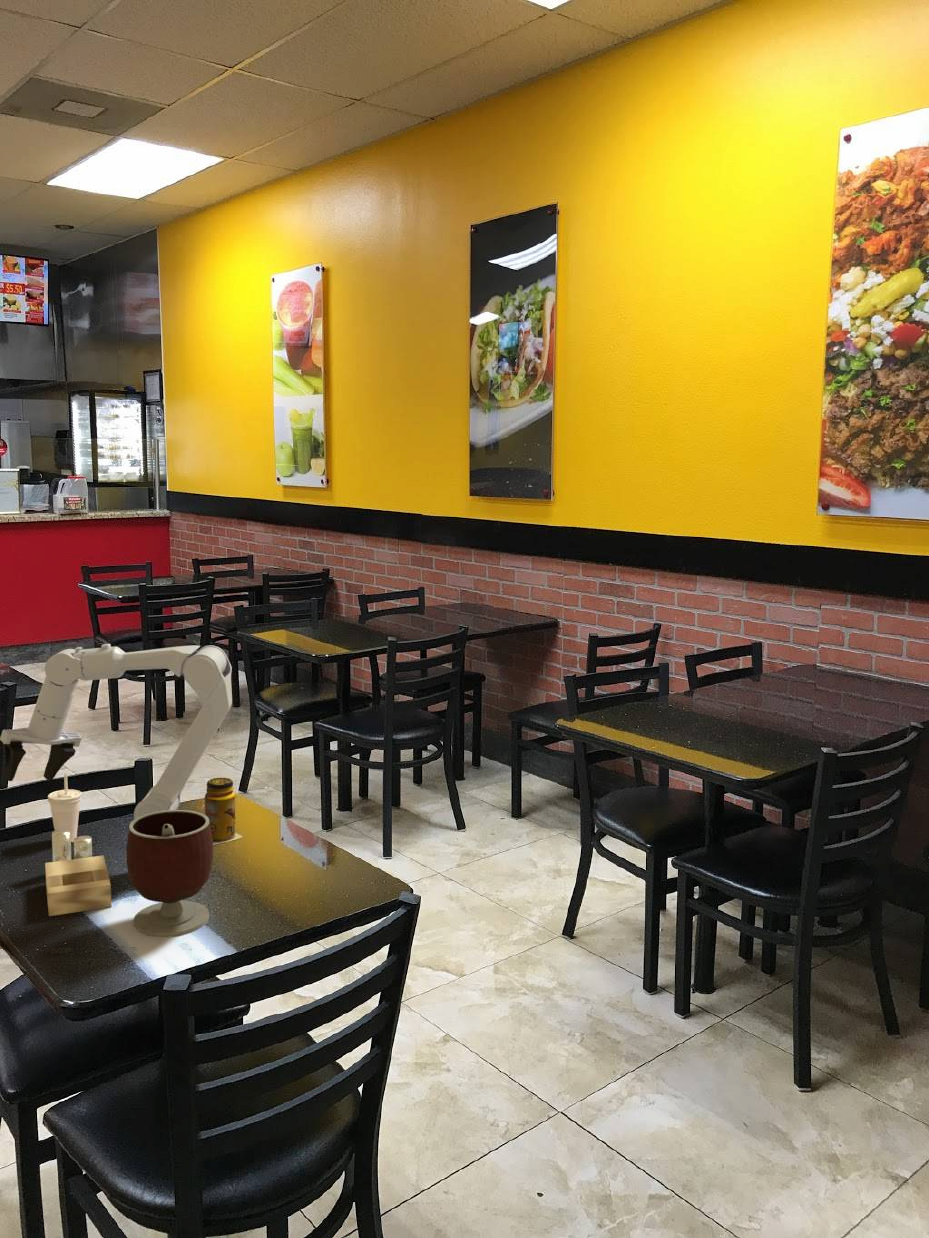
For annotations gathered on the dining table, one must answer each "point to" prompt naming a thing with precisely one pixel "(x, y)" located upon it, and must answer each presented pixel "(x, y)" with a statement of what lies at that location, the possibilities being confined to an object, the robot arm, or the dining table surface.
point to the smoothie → (65, 809)
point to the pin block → (77, 885)
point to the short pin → (82, 847)
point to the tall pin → (61, 845)
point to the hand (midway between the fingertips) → (28, 778)
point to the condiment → (221, 810)
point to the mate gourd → (170, 869)
